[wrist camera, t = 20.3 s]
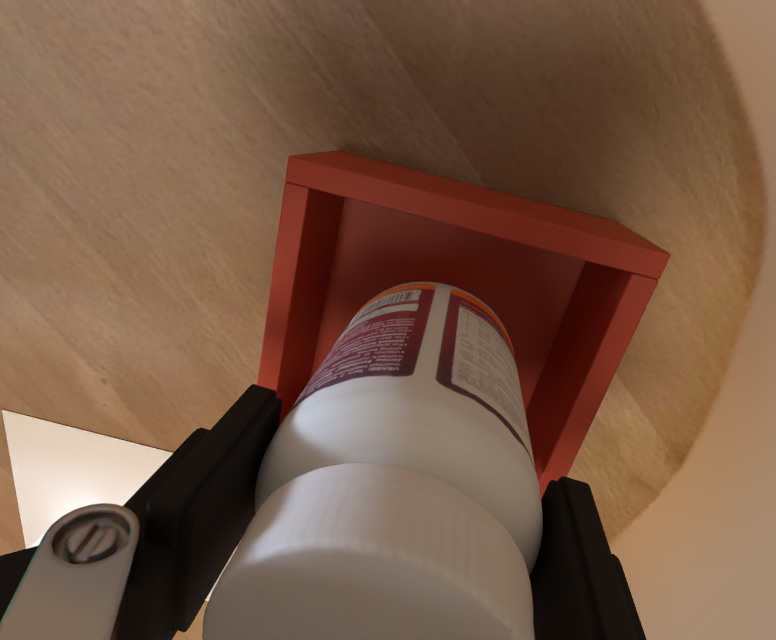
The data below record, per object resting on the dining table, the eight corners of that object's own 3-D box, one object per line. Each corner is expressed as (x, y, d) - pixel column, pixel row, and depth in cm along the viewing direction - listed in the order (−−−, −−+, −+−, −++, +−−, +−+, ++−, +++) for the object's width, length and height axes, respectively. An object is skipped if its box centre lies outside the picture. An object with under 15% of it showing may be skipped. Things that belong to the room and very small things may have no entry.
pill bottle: (331, 403, 19) (153, 731, 9) (364, 255, 17) (176, 455, 6) (484, 450, 19) (493, 855, 8) (541, 304, 16) (658, 611, 6)
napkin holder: (241, 467, 27) (182, 548, 21) (236, 609, 31) (186, 706, 26) (-1, 408, 28) (-111, 471, 23) (26, 551, 33) (-61, 631, 27)
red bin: (337, 150, 20) (288, 154, 15) (619, 222, 19) (671, 254, 14) (295, 388, 24) (246, 456, 19) (522, 455, 23) (534, 545, 18)
